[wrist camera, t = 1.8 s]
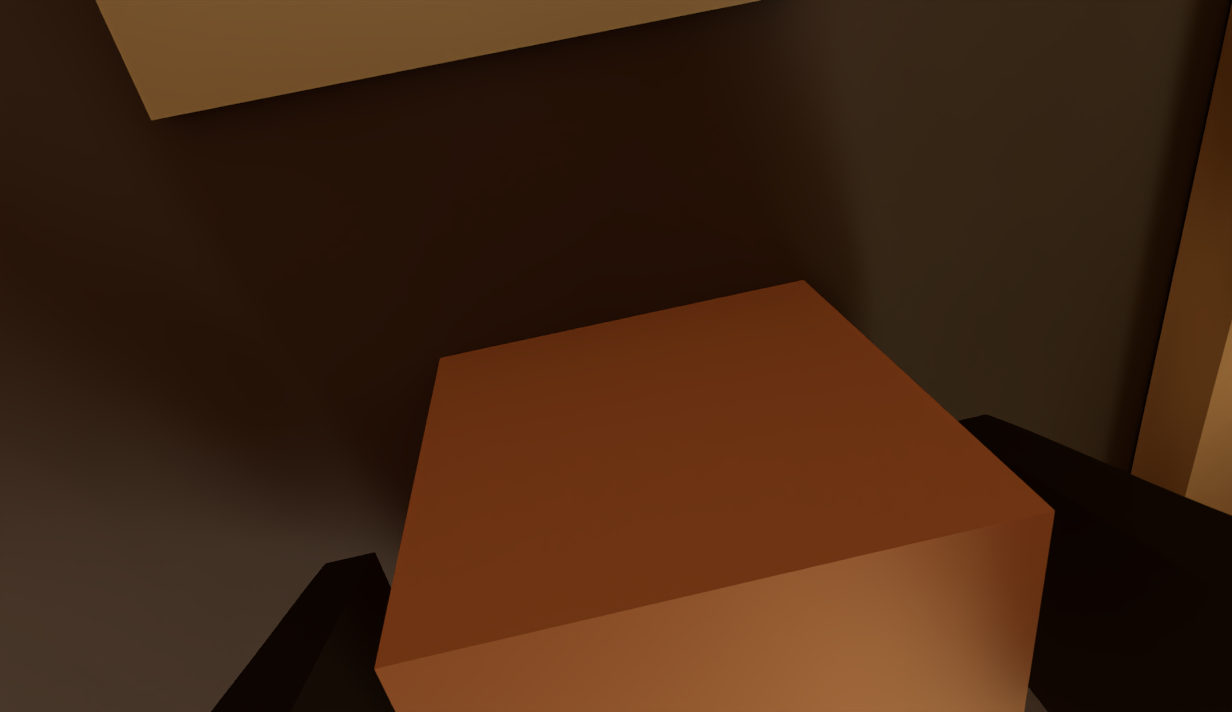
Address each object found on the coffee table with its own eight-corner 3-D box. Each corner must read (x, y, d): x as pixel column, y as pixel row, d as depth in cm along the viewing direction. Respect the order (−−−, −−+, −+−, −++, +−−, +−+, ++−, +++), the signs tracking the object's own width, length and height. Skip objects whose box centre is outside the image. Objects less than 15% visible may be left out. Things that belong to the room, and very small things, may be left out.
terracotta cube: (815, 549, 12) (999, 875, 7) (526, 616, 12) (534, 993, 7) (800, 277, 9) (1053, 511, 5) (441, 355, 9) (374, 668, 5)
